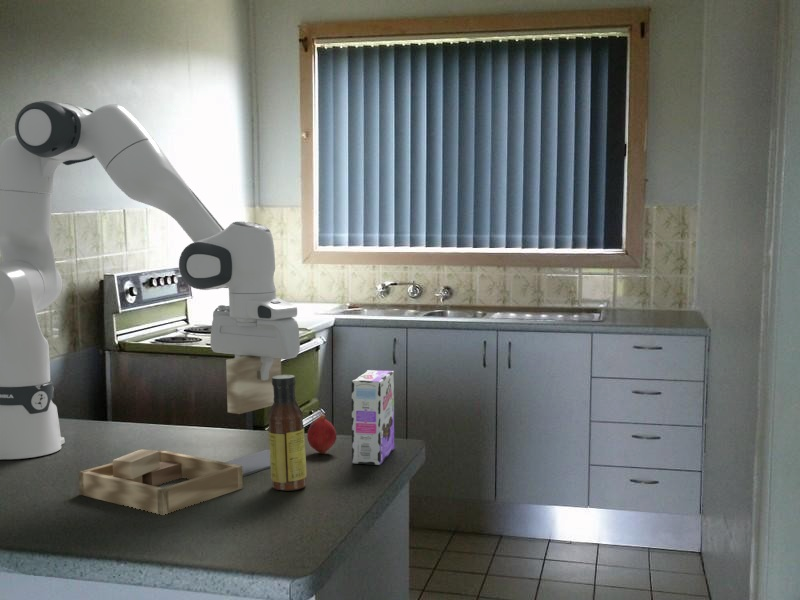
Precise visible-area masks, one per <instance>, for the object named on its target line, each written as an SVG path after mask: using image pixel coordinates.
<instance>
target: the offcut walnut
mask: <svg viewBox="0 0 800 600" xmlns="http://www.w3.org/2000/svg"><path fill="white" fill-rule="evenodd" d="M179 478H180V479H183V478H182V467H181V463H177V462H172V461H167V460H165V461H162V462H160V468H158V469H155V470H153V471H150V472H148V473H146V474H143V475H142V483H143V484H147V485H152V486H156V487H158V486H160V485H163V483H164V484H167V483H170V482H173V481H176V480H175V479H177V480H179ZM172 480H173V481H172ZM169 481H170V482H169ZM166 482H167V483H166Z"/></svg>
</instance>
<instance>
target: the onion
mask: <svg viewBox="0 0 800 600" xmlns="http://www.w3.org/2000/svg"><path fill="white" fill-rule="evenodd" d="M306 438H307V442H308V444H309V446H310V447H311V448H312V449H313V450H315V451H316V452H318V453H319V454H321V455H323V454H326V453H327V451H328V450H330V449H331V448H332V447H333V446H334V444H335V443H336V442H337V431H336V428H335V427H334V425H333V424H332V422H330V421H329V420H328V419H326V415H325V414H320V416H319V417H318V418H317V419H316V420H315V421H313V422H312V423H311V424H310V426H309V427H308V430H307V435H306Z"/></svg>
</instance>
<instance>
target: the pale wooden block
mask: <svg viewBox="0 0 800 600" xmlns="http://www.w3.org/2000/svg"><path fill="white" fill-rule="evenodd" d="M273 360H274V362H273V364H272V366H271V368H270V370H269V379H268V380H258V379H257V376H258V375H257V371H259V370H261V367H262V365H263V363H261V357H257V356H243V357H238V358H235V357H233V358H228V359H227V358H226V359H225V363H226V364H225V367H226V368H225V369H226V397H227V398H226V401H227V402H226V404H227V413H230V414H237V415H240V414H241V415H242V414H244V413H248V412H252V411H256V410H259V409H264V408H268V407H272V405H273V403H274V389H273V385H272V377H273V376H278V375H282V359H277V358H273Z"/></svg>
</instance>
